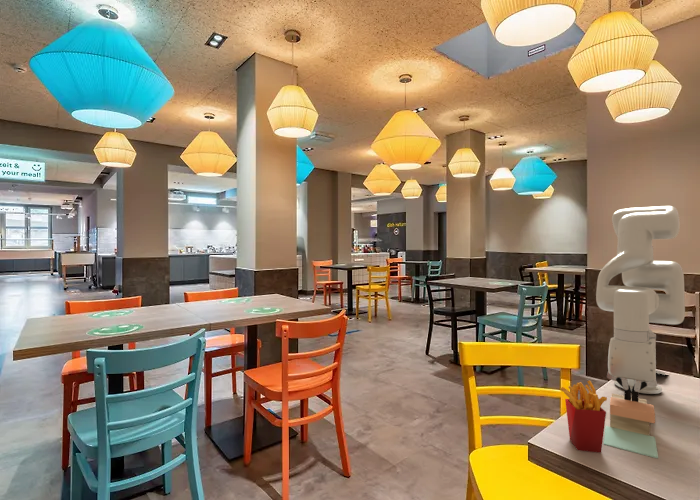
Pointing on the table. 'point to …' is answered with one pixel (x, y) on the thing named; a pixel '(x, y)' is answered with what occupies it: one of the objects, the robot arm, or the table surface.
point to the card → (632, 409)
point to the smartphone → (660, 372)
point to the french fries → (585, 417)
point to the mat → (630, 441)
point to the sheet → (629, 421)
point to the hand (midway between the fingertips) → (631, 404)
